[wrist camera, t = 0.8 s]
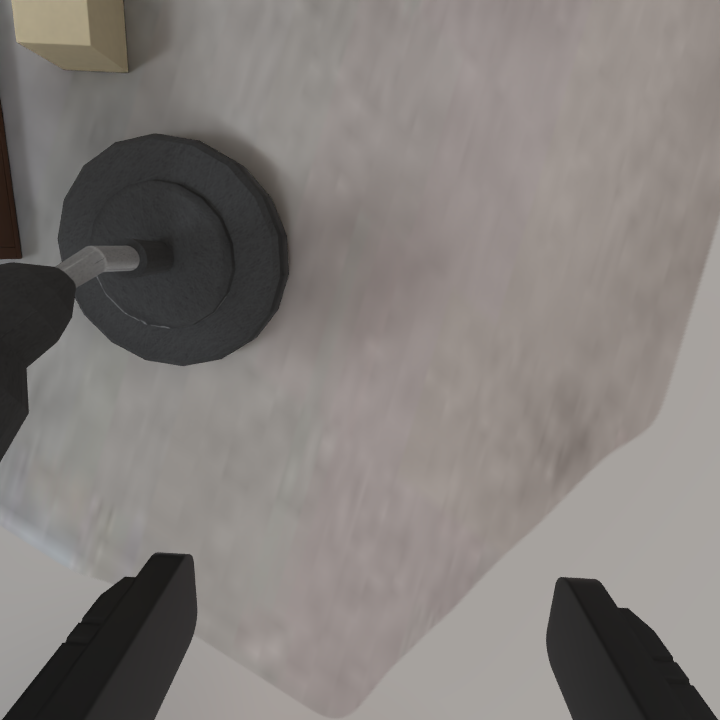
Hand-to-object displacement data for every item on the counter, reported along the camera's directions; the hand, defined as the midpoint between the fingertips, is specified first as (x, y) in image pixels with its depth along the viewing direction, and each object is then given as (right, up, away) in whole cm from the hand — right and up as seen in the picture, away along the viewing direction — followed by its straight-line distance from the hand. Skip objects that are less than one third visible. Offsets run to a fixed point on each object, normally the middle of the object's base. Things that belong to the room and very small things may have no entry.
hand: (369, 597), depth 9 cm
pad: (-18, +29, +19) cm, 39 cm away
